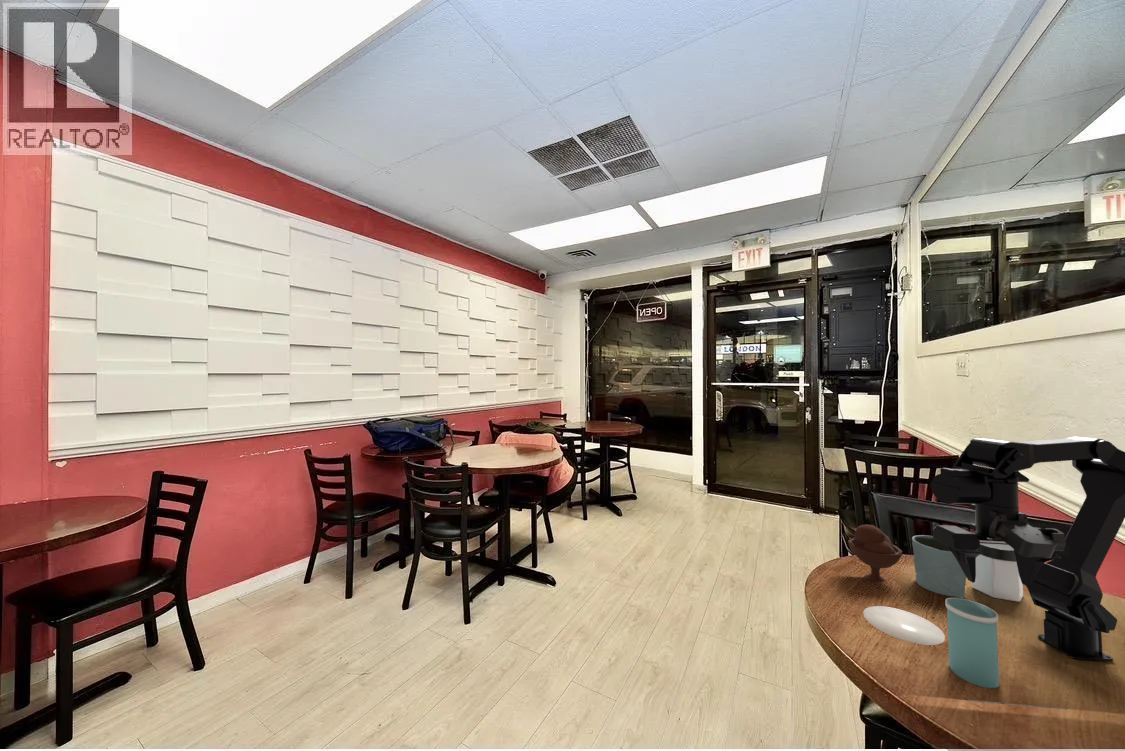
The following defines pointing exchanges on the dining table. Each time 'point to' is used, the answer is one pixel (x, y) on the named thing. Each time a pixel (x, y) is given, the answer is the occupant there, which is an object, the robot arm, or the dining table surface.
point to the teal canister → (973, 642)
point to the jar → (998, 572)
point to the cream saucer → (904, 625)
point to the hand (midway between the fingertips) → (998, 583)
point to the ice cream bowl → (874, 550)
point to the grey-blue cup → (937, 567)
